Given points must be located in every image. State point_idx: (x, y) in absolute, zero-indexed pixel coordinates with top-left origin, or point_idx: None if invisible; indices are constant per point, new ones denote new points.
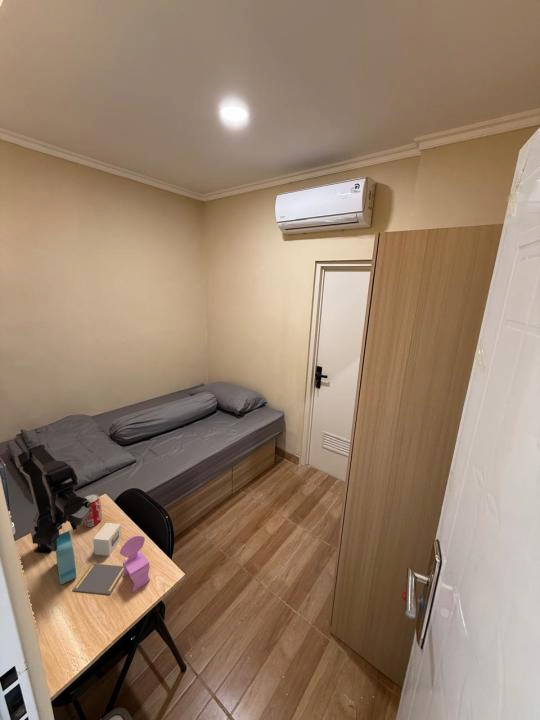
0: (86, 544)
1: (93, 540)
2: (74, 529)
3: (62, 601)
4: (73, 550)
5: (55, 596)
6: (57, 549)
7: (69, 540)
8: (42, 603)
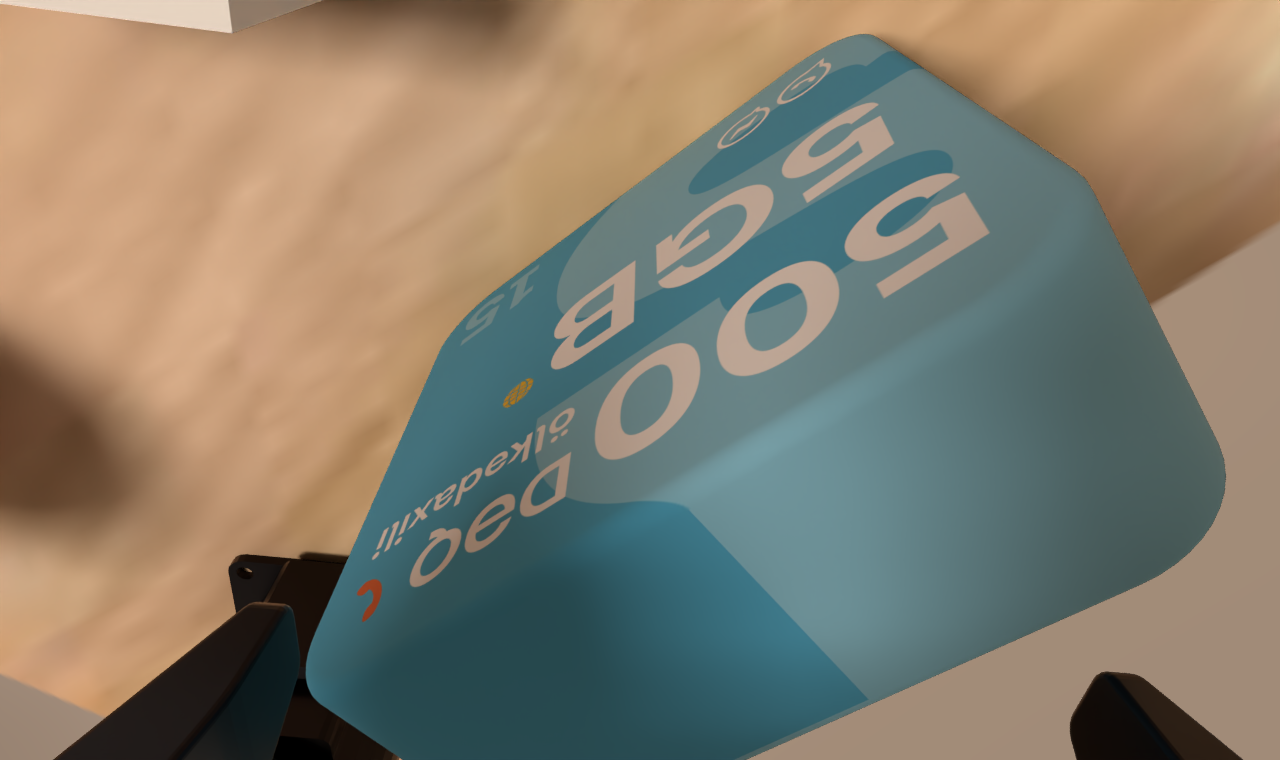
0: (221, 231)
1: (252, 16)
2: (288, 639)
3: (1203, 25)
4: (1047, 233)
5: (1081, 175)
6: (971, 649)
7: (664, 543)
8: (1139, 277)
